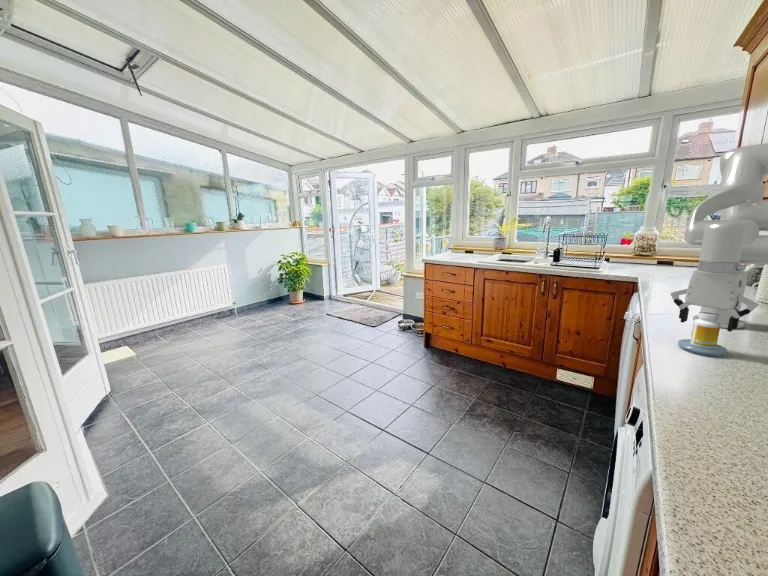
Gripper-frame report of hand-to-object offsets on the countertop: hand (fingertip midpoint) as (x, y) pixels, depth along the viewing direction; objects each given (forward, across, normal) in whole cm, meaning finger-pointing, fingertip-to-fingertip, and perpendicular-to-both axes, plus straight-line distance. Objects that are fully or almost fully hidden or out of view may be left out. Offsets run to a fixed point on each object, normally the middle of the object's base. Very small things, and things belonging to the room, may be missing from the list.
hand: (705, 325), depth 89 cm
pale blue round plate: (+7, 0, +1) cm, 8 cm away
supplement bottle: (+6, 0, 0) cm, 6 cm away
